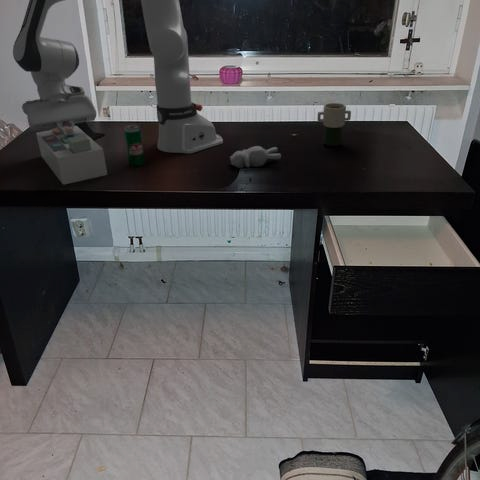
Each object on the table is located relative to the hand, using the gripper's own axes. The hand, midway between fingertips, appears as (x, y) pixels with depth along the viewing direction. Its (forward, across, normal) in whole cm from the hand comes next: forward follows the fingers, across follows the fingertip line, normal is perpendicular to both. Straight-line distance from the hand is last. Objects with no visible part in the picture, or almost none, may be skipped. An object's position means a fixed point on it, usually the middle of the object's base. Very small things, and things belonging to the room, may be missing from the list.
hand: (69, 136), depth 150 cm
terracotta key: (-3, 0, +10) cm, 11 cm away
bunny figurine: (+29, +46, -16) cm, 57 cm away
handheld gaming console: (-10, +10, +24) cm, 28 cm away
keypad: (+7, -1, +6) cm, 9 cm away
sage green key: (+9, 0, -5) cm, 11 cm away
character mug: (+29, +77, -16) cm, 84 cm away
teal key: (+4, 0, +4) cm, 5 cm away
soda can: (+14, +16, -1) cm, 22 cm away
